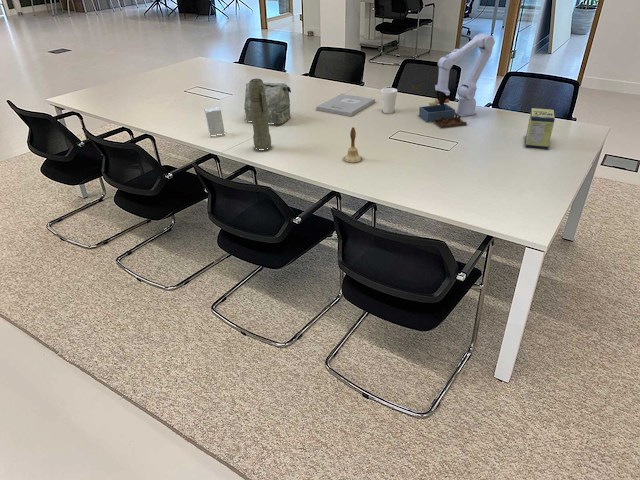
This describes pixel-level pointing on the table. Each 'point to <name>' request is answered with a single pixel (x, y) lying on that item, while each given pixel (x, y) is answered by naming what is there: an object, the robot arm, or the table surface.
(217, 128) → the cosmetic box
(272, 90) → the lunch bag
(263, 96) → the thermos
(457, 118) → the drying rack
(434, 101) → the bottle brush
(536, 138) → the protein box
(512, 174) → the table surface
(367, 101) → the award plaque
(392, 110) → the foam cup
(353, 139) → the hand bell
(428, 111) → the wash tub
